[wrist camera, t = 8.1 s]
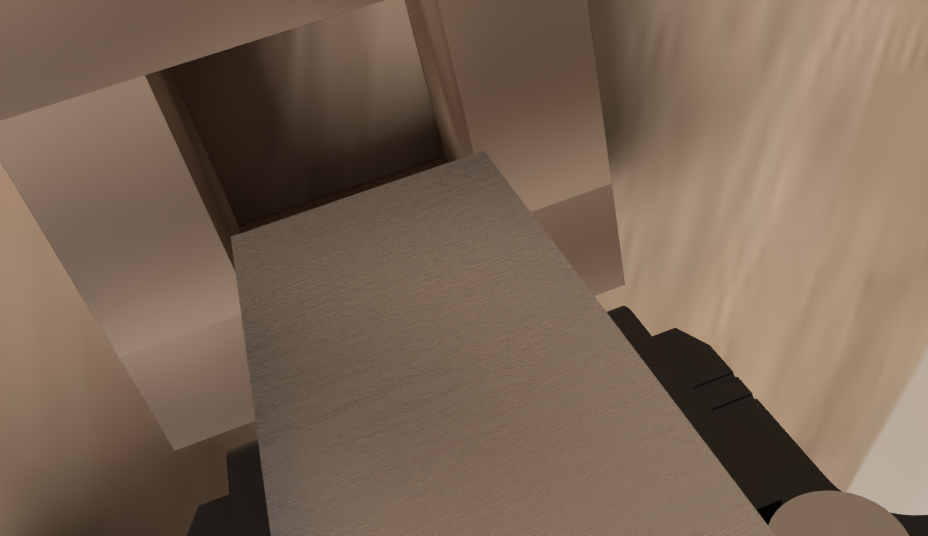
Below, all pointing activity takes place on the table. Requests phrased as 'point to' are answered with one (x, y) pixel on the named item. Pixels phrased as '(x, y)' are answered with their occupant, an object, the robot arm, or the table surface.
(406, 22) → the table surface
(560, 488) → the square bit
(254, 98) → the table surface
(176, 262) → the socket block
